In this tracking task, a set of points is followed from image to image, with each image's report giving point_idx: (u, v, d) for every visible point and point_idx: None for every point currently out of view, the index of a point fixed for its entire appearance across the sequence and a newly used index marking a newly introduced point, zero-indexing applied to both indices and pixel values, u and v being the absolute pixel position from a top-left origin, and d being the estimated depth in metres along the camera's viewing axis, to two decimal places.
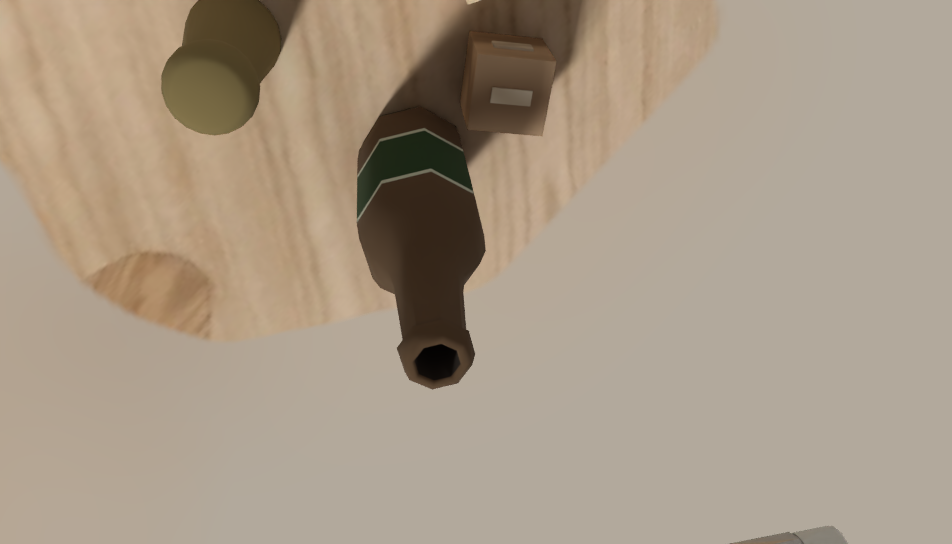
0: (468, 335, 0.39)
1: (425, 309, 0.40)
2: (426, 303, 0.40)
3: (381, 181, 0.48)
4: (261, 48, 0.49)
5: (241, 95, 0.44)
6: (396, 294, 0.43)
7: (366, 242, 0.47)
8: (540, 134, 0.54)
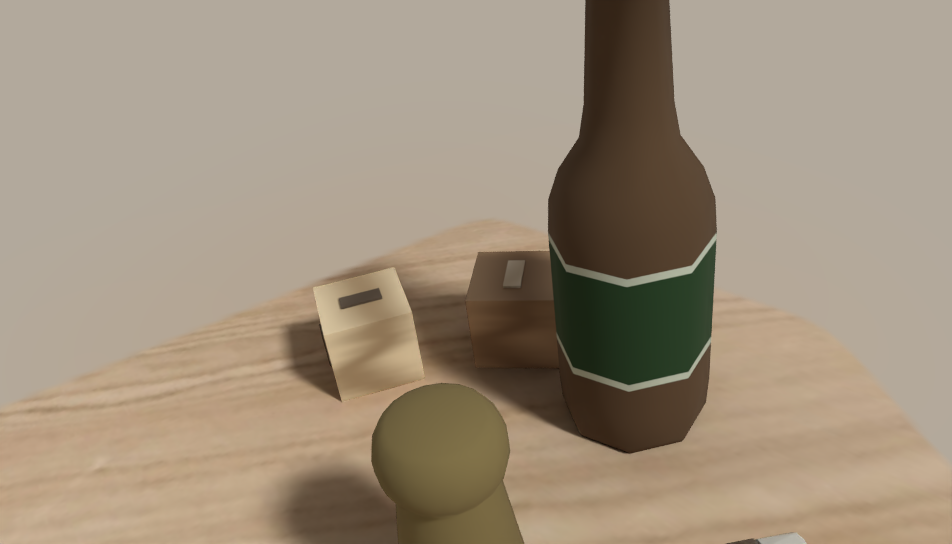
0: None
1: (590, 14, 0.33)
2: (589, 25, 0.33)
3: (567, 270, 0.37)
4: None
5: (436, 385, 0.32)
6: (623, 96, 0.33)
7: (620, 221, 0.34)
8: None
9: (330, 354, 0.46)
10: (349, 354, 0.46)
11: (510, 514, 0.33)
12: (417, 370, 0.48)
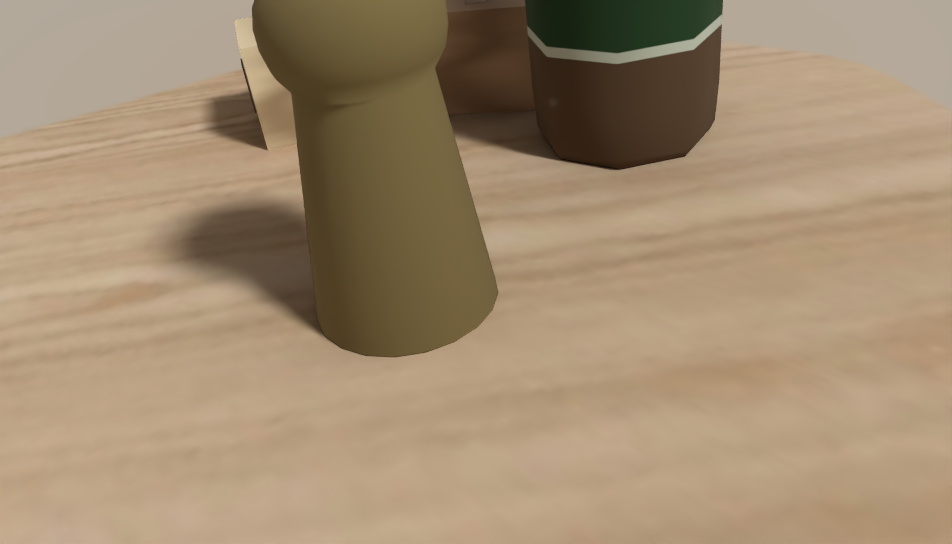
0: None
1: None
2: None
3: None
4: None
5: None
6: None
7: None
8: None
9: (249, 78, 0.37)
10: (274, 80, 0.37)
11: (453, 142, 0.24)
12: None
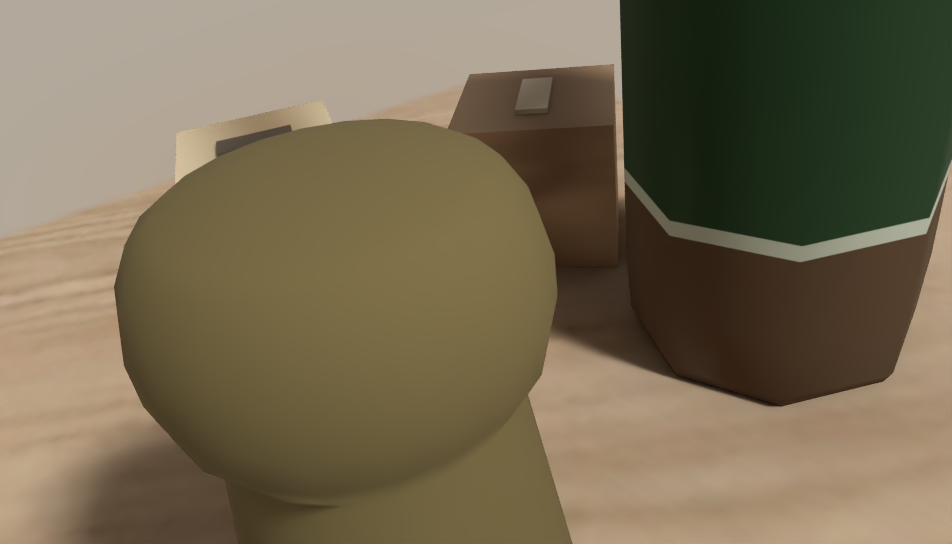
0: None
1: None
2: None
3: None
4: None
5: (335, 123, 0.11)
6: None
7: None
8: (610, 65, 0.28)
9: None
10: None
11: (555, 501, 0.12)
12: None
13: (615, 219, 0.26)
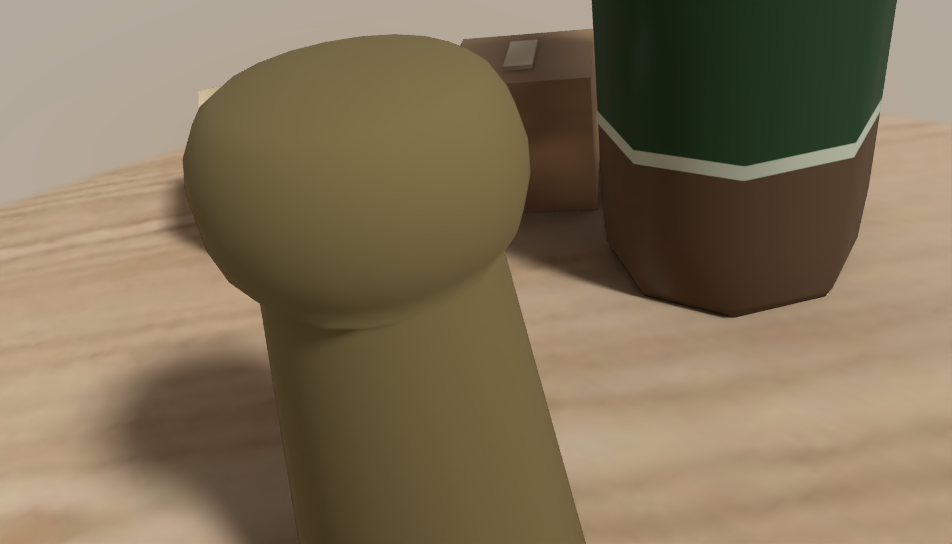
0: None
1: None
2: None
3: None
4: None
5: None
6: None
7: None
8: (590, 29, 0.31)
9: None
10: None
11: (530, 351, 0.14)
12: None
13: (593, 165, 0.28)
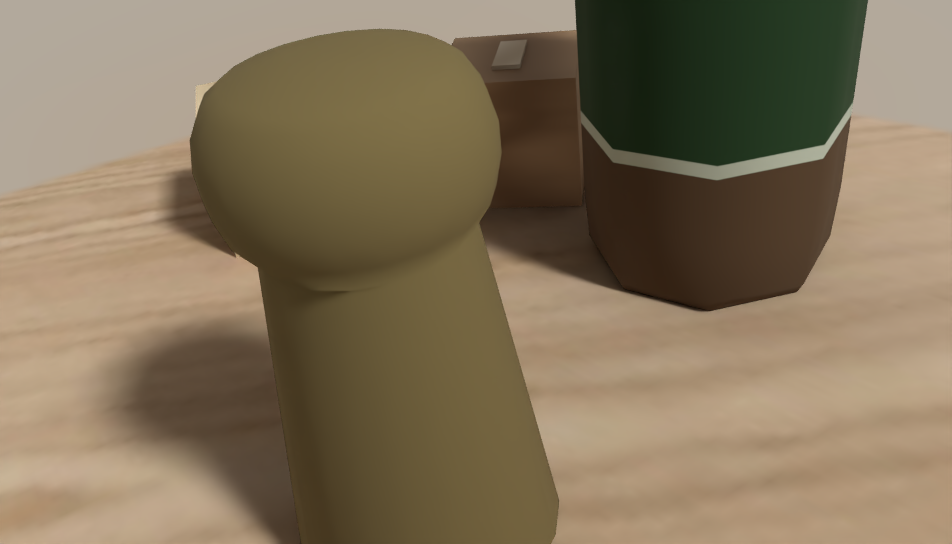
0: None
1: None
2: None
3: None
4: None
5: None
6: None
7: None
8: None
9: None
10: None
11: (504, 316, 0.16)
12: None
13: (578, 162, 0.29)
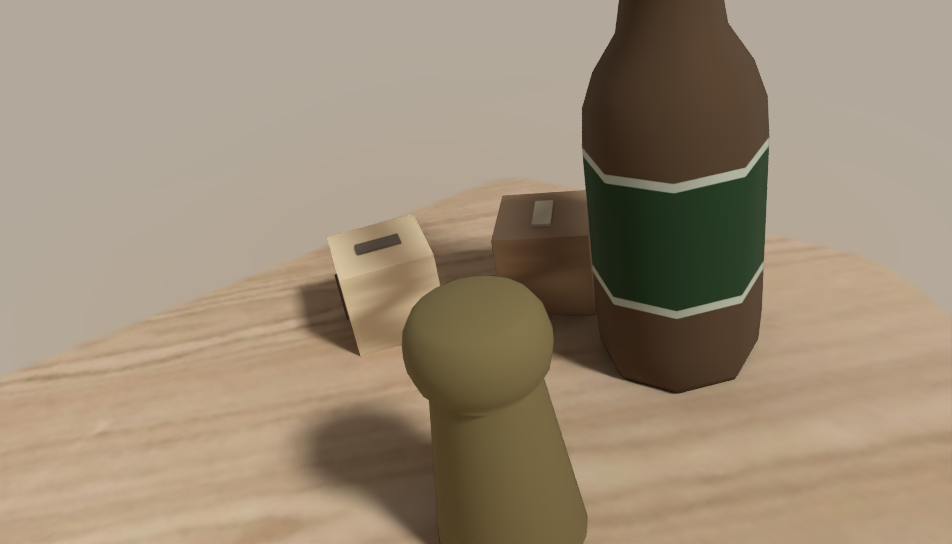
0: None
1: None
2: None
3: (605, 182, 0.34)
4: None
5: (468, 277, 0.29)
6: None
7: (665, 116, 0.31)
8: None
9: (346, 302, 0.42)
10: (367, 302, 0.43)
11: (555, 418, 0.30)
12: None
13: (591, 287, 0.43)
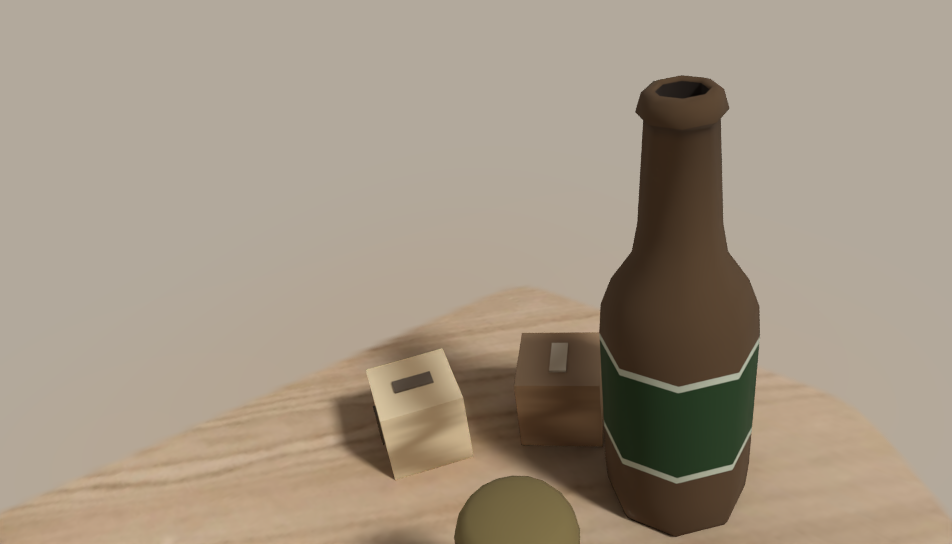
0: None
1: (647, 149, 0.35)
2: (646, 158, 0.35)
3: (620, 374, 0.40)
4: None
5: (509, 479, 0.35)
6: (678, 223, 0.35)
7: (673, 335, 0.37)
8: None
9: (386, 438, 0.48)
10: (403, 437, 0.48)
11: None
12: (466, 449, 0.50)
13: (600, 425, 0.49)
